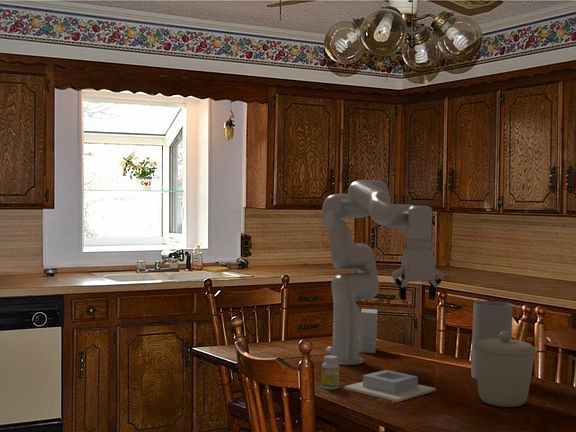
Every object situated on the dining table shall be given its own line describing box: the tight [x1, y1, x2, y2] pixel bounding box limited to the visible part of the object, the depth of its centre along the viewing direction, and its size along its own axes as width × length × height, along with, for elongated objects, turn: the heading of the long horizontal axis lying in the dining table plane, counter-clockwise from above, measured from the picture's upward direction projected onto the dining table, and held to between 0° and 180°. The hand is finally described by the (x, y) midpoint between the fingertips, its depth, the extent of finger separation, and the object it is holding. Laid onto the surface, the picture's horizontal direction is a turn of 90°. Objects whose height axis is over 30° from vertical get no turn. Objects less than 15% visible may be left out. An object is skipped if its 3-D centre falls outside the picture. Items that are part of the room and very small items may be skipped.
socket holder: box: [343, 369, 437, 403], centre depth 243 cm, size 20×20×4 cm
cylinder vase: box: [470, 300, 514, 381], centre depth 261 cm, size 12×12×25 cm
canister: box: [473, 331, 538, 408], centre depth 231 cm, size 18×18×21 cm
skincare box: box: [359, 308, 379, 354], centre depth 303 cm, size 8×7×16 cm
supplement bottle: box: [320, 354, 340, 390], centre depth 244 cm, size 5×5×10 cm
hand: (417, 299), depth 248 cm, fingers open, 9 cm apart
